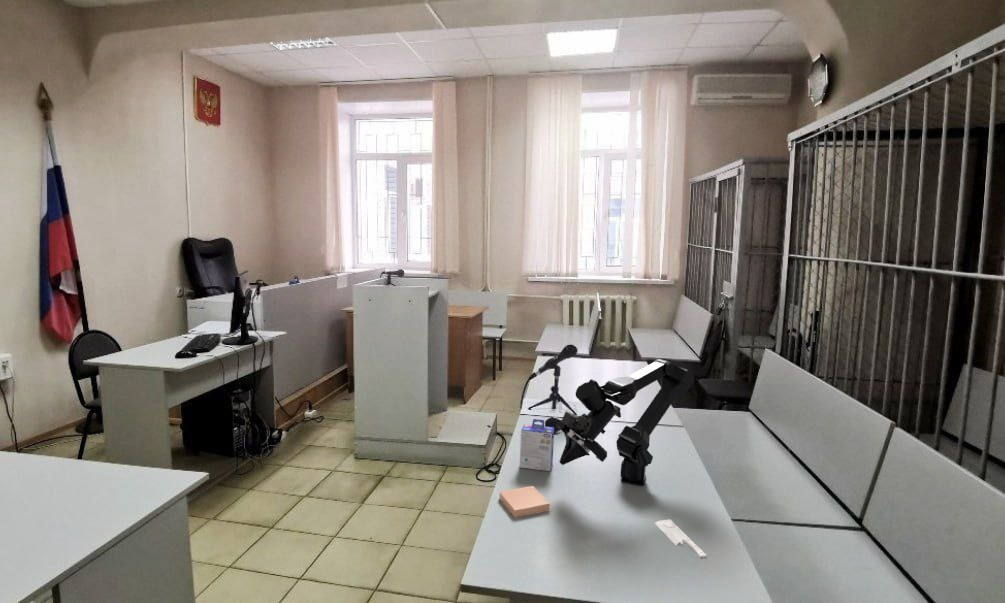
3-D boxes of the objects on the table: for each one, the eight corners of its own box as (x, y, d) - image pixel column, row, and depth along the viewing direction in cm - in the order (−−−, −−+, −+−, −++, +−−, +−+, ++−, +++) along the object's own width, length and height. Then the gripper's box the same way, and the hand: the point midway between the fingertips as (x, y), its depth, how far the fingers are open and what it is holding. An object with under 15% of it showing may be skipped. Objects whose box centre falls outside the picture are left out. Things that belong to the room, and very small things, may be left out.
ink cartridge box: (553, 464, 165) (555, 419, 163) (551, 472, 159) (553, 426, 158) (522, 460, 167) (523, 416, 165) (519, 468, 161) (520, 422, 159)
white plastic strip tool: (686, 561, 119) (686, 556, 119) (652, 524, 133) (653, 520, 133) (706, 558, 120) (706, 553, 120) (670, 522, 134) (671, 518, 134)
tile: (532, 485, 146) (499, 491, 142) (549, 503, 137) (514, 510, 133) (532, 494, 147) (499, 500, 143) (549, 512, 138) (514, 519, 134)
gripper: (563, 391, 151) (527, 433, 149) (599, 413, 134) (560, 461, 132) (585, 414, 155) (551, 456, 153) (623, 438, 138) (585, 485, 136)
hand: (560, 463), depth 143 cm, fingers closed
